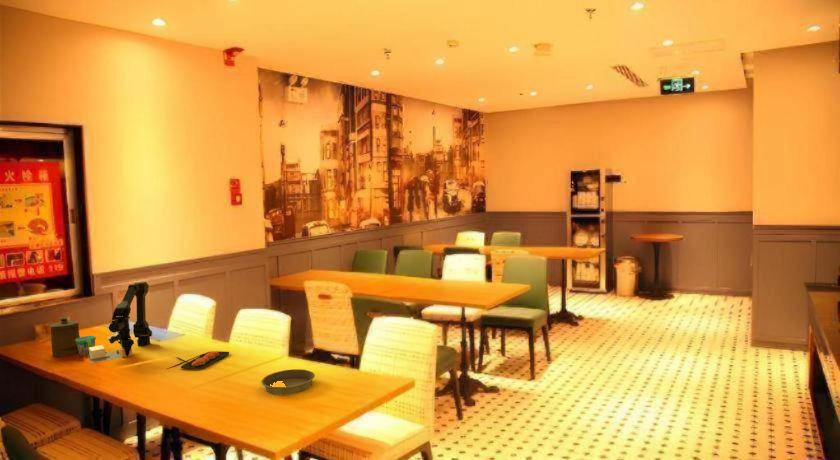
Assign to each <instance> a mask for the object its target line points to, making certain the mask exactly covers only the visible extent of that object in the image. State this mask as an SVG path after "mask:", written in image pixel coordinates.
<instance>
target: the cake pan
mask: <svg viewBox="0 0 840 460" xmlns="http://www.w3.org/2000/svg"><path fill="white" fill-rule="evenodd" d="M315 377H316V375H315V372H313V371H310V370H307V369H301V368H299V369H285V370H280V371H276V372H272V373H270V374H268V375H266V376H264V377H263V378H262V379H261V381H260V382H261V384H262V386H264V388H265V391H266V393H268V392H269V394H272V395H276V394H279V396H283V395H285V394H287V395H292V394H293V395H294V394H298V393H301V392H303V391H306V390H308V389H310V388H311V387H312V385H313V380H314V379H315ZM277 381H283V382H282V383H284V384H285V386H286V387H272V386H270V384H271V385H273V383H274V382H275V383H276V382H277ZM280 394H282V395H280ZM285 396H286V395H285Z"/></svg>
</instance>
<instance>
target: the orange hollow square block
mask: <svg viewBox="0 0 840 460" xmlns="http://www.w3.org/2000/svg"><path fill="white" fill-rule="evenodd" d="M119 350H120V355H121V358H126V357H131V356H133V348H132V347H131V350H130V352H129V355H128V356H126V354H125V350H124V348H122V347H120V348H119ZM130 355H131V356H130ZM125 356H126V357H125Z"/></svg>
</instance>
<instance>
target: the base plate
mask: <svg viewBox="0 0 840 460" xmlns="http://www.w3.org/2000/svg"><path fill="white" fill-rule="evenodd" d="M105 355H106V356H105V357H100V358H95V359H91V358H90V356H89V354H86V356H87V358H88V360H89V361H90V363H91V364H94V363H95V364H96V363H100V362H105V361H111V360H116V359H120V358H121V359H122V357H121V355H120V348H119V349H118V348H117V349H115V350H112V351H105ZM131 356H132V355H130V356H129V357H131ZM126 357H127V356H125V357H124V358H126Z"/></svg>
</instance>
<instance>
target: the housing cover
mask: <svg viewBox="0 0 840 460" xmlns="http://www.w3.org/2000/svg"><path fill="white" fill-rule="evenodd" d="M105 352H106V348H105V347H104V345H103V344H100V345H95V346H94V347H89V354H88V355H89V356H90V358H91V359H95V358H100V357H105V356H106V355H105Z"/></svg>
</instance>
